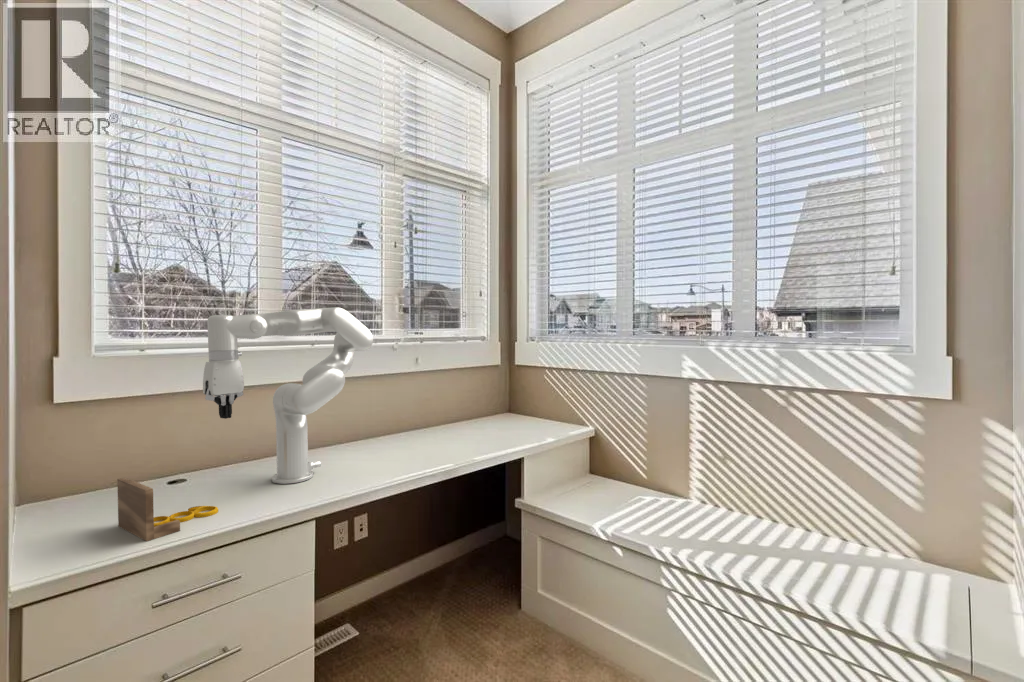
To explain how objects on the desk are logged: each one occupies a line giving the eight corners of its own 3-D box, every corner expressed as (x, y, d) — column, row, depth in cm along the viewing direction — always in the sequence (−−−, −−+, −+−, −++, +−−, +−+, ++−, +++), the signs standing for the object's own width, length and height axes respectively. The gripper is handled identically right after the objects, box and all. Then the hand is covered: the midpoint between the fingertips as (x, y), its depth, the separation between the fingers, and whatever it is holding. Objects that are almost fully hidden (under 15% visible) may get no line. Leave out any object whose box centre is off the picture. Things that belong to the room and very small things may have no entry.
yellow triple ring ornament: (221, 517, 129) (214, 507, 136) (221, 511, 128) (214, 501, 136) (143, 535, 118) (140, 523, 125) (143, 529, 118) (140, 517, 125)
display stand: (150, 517, 128) (149, 472, 128) (180, 530, 119) (179, 482, 119) (118, 526, 122) (117, 479, 122) (146, 541, 113) (145, 490, 113)
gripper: (240, 354, 152) (242, 412, 153) (189, 358, 139) (192, 421, 140) (255, 355, 149) (257, 414, 149) (204, 358, 136) (207, 423, 136)
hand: (225, 417), depth 145 cm, fingers closed
